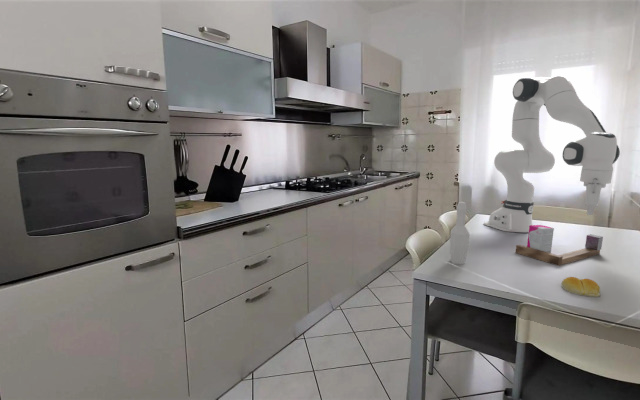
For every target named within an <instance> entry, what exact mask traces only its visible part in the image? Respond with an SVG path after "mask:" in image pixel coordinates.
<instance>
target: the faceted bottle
mask: <svg viewBox="0 0 640 400" xmlns="http://www.w3.org/2000/svg"><path fill="white" fill-rule="evenodd" d="M467 210H468V207H467V203H466V201H458V203H457V205H456V221H455V223H456V224H455V225H454V226H453V227H452V228H451V230H450V234H449V235H450V236H449V251H450V262H451V263H452V264H454V265H464V264H465V262H466V259H467V254H468V249H469V242H470V232H469V230H468V228H467V227H466V216H467Z"/></svg>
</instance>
